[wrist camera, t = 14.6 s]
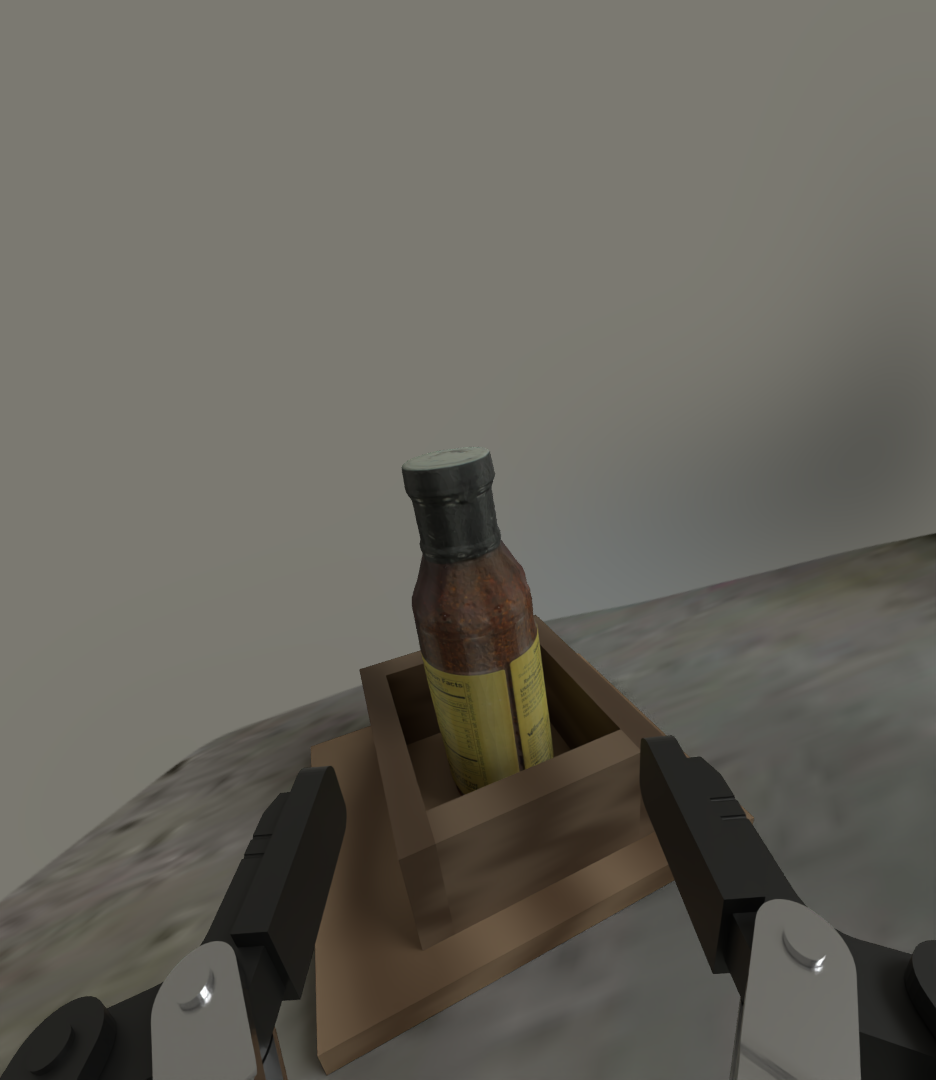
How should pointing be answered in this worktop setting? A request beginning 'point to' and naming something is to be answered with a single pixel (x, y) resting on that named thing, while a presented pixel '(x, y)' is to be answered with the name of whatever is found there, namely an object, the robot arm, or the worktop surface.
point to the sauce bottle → (475, 623)
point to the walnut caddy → (472, 851)
